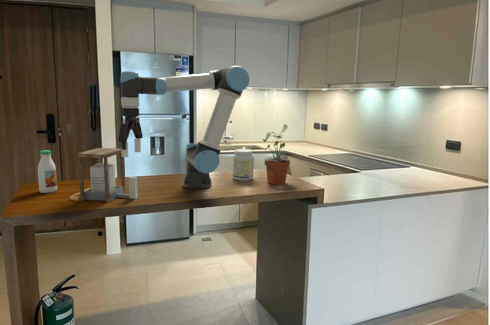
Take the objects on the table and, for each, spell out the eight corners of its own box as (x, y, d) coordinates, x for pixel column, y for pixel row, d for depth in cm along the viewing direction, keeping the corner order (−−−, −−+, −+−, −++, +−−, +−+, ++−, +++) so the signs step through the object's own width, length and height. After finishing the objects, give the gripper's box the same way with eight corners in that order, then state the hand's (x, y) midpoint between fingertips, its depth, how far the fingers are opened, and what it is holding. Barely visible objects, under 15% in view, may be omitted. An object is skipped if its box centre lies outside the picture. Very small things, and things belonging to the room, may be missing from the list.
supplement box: (97, 193, 171) (95, 163, 168) (116, 193, 172) (115, 163, 169) (90, 199, 162) (89, 166, 159) (111, 199, 163) (109, 167, 160)
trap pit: (99, 190, 176) (99, 188, 176) (79, 200, 159) (79, 198, 159) (89, 190, 176) (89, 187, 176) (69, 199, 160) (68, 197, 160)
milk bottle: (39, 193, 168) (35, 152, 164) (39, 190, 175) (36, 149, 171) (57, 192, 171) (54, 151, 168) (57, 188, 178) (54, 149, 174)
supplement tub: (240, 175, 218) (241, 148, 215) (257, 178, 211) (258, 150, 208) (228, 178, 208) (228, 150, 205) (245, 182, 201) (246, 152, 198)
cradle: (142, 194, 172) (141, 174, 170) (130, 202, 159) (129, 180, 157) (98, 191, 174) (96, 171, 172) (83, 199, 161) (81, 177, 159)
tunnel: (125, 192, 175) (123, 148, 171) (108, 202, 158) (105, 154, 154) (100, 190, 176) (98, 147, 172) (80, 200, 159) (77, 153, 155)
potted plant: (272, 178, 212) (274, 119, 206) (293, 182, 202) (297, 121, 196) (255, 182, 201) (257, 120, 194) (277, 187, 191) (280, 122, 184)
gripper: (134, 106, 170) (135, 150, 174) (108, 107, 146) (110, 158, 150) (149, 106, 169) (149, 150, 173) (126, 108, 145) (127, 159, 149)
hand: (131, 154), depth 162 cm, fingers open, 13 cm apart
